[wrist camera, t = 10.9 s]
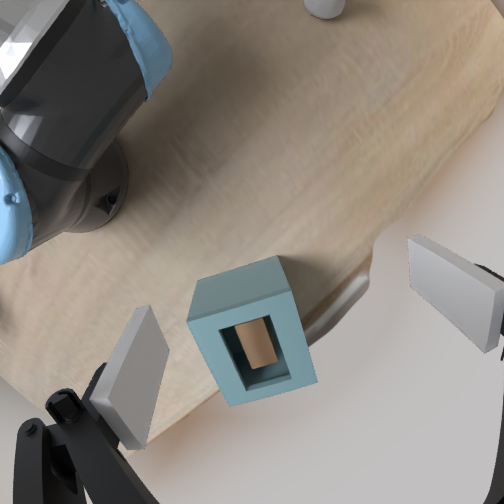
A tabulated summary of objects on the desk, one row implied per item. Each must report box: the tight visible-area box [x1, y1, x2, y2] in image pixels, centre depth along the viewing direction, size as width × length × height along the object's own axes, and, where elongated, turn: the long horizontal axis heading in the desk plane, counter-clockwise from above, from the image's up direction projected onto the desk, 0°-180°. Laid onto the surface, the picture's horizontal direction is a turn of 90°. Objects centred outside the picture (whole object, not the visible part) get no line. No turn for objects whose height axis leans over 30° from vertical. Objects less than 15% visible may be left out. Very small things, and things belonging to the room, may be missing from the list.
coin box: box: [186, 256, 318, 407], centre depth 41 cm, size 12×14×12 cm
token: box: [234, 316, 278, 369], centre depth 42 cm, size 4×7×9 cm, turn 18°
